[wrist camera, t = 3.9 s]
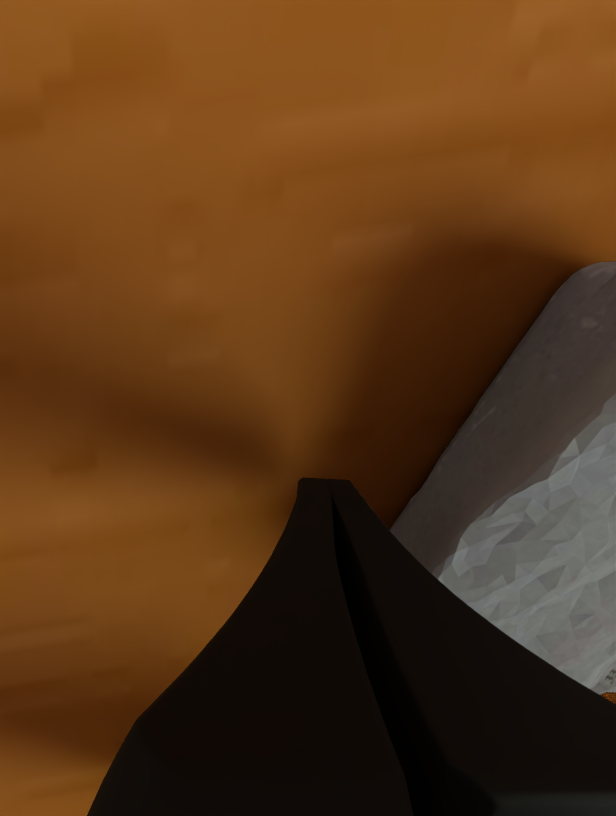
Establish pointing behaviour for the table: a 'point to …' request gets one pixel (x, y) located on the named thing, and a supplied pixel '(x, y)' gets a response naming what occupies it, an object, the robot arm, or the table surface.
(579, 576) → the stone block
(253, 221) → the table surface
